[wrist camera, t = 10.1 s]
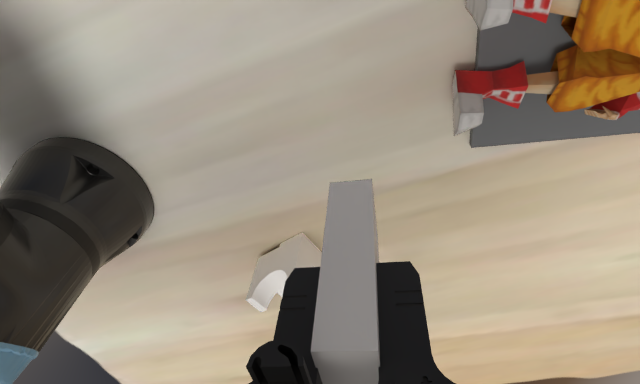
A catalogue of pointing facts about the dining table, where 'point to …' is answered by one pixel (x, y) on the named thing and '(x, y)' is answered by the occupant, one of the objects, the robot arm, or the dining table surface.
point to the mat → (534, 113)
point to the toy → (560, 61)
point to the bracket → (280, 269)
